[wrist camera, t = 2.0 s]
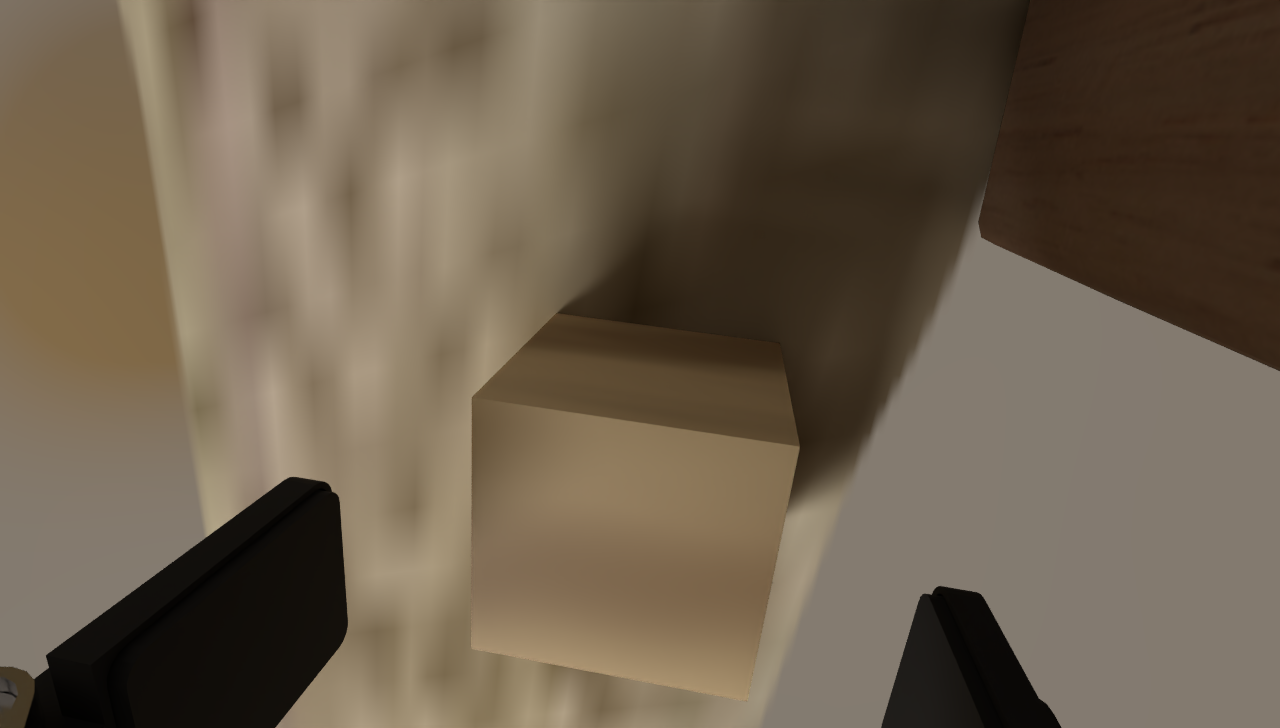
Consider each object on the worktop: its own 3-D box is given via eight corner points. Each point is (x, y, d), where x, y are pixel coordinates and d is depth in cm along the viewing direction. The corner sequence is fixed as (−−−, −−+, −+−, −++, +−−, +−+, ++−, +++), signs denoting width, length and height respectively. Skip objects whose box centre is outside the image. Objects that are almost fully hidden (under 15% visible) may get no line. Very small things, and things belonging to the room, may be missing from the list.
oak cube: (557, 312, 14) (471, 397, 10) (779, 342, 14) (799, 446, 9) (548, 500, 16) (471, 648, 12) (744, 533, 16) (747, 702, 11)
